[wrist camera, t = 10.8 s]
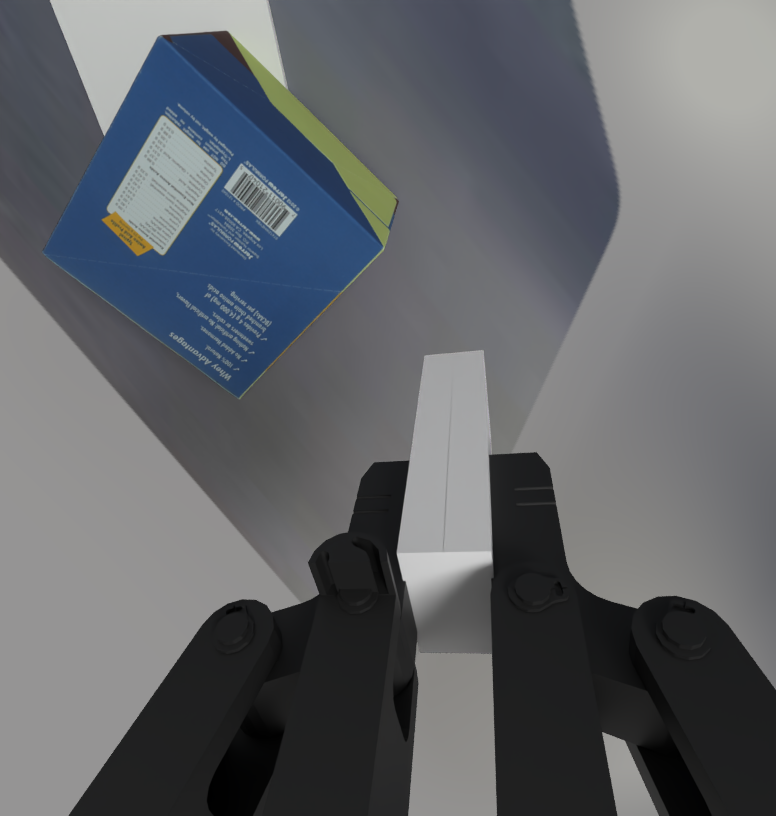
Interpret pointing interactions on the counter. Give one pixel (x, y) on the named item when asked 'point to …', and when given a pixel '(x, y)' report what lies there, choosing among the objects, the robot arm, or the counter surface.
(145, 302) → the protein box
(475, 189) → the counter surface
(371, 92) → the counter surface
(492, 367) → the counter surface
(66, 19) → the mat
